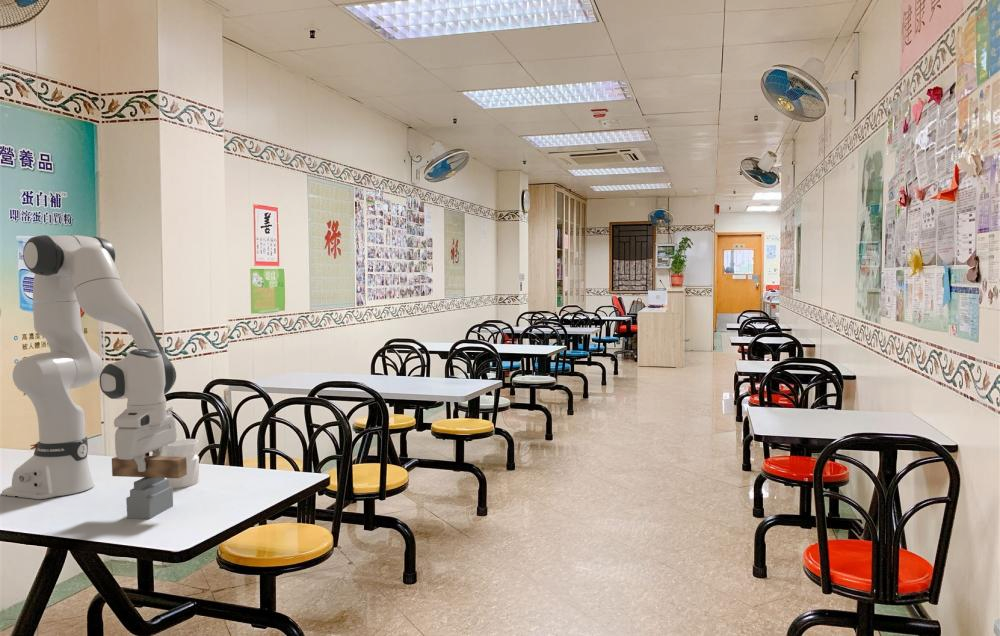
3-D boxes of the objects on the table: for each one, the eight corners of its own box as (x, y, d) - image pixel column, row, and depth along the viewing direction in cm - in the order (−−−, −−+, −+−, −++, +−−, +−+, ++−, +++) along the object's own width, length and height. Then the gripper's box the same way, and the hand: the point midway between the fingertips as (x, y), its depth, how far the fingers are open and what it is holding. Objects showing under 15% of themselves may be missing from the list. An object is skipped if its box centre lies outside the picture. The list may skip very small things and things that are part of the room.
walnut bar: (112, 476, 180) (111, 458, 179) (121, 472, 183) (120, 455, 183) (178, 478, 177) (178, 460, 177) (186, 474, 180) (186, 456, 180)
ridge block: (127, 518, 176) (125, 481, 175) (151, 505, 186) (150, 471, 185) (149, 518, 175) (148, 482, 175) (173, 505, 185) (171, 471, 185)
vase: (191, 477, 212) (189, 437, 212) (205, 482, 206) (203, 441, 206) (161, 483, 206) (159, 442, 205) (175, 489, 200) (173, 447, 199)
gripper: (159, 406, 190) (161, 457, 191) (109, 421, 170) (111, 479, 170) (182, 406, 189) (183, 458, 190) (133, 422, 169) (135, 480, 170)
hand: (148, 468), depth 180 cm, fingers closed on walnut bar, 3 cm apart
